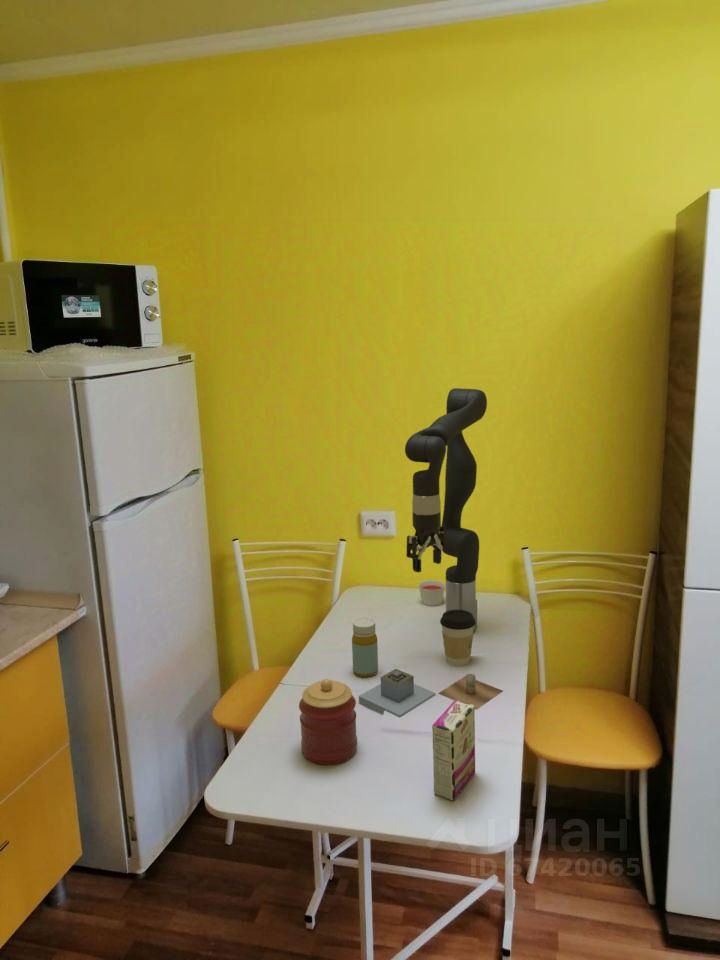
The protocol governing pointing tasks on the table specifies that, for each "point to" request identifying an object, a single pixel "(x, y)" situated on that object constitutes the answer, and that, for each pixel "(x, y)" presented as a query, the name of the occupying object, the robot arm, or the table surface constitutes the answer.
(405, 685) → the recessed metal cube
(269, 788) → the table surface
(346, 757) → the canister
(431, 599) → the candle
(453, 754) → the candy bar box
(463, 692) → the stand
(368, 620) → the bottle
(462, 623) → the coffee cup
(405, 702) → the square plate
